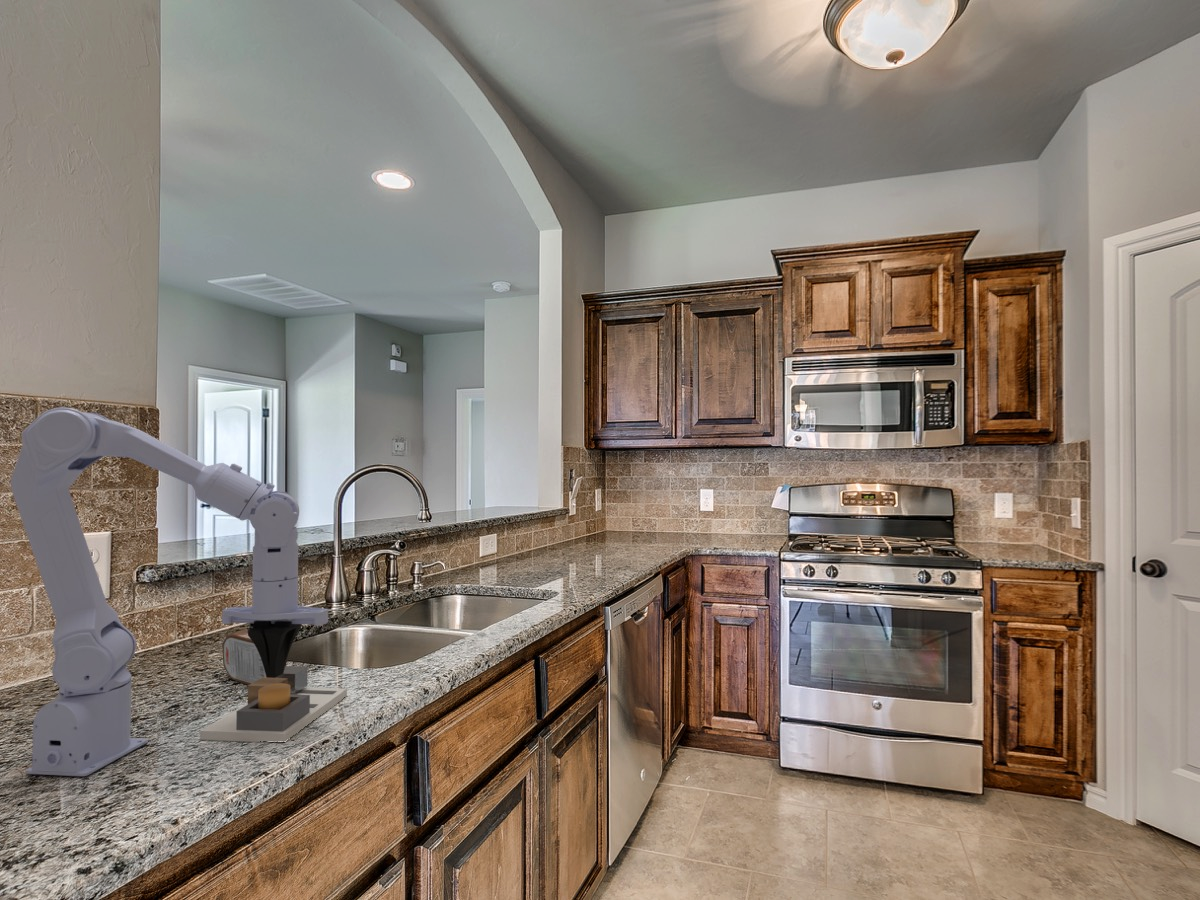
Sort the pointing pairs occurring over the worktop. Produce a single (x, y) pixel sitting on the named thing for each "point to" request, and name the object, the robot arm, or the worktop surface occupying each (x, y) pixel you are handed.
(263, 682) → the small cardboard carton
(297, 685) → the grey slider
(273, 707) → the orange button
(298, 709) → the panel
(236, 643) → the tin
